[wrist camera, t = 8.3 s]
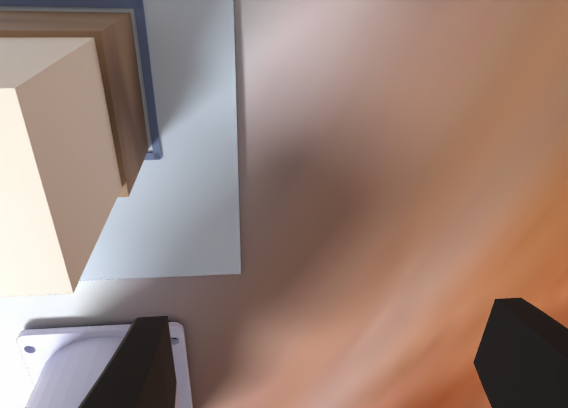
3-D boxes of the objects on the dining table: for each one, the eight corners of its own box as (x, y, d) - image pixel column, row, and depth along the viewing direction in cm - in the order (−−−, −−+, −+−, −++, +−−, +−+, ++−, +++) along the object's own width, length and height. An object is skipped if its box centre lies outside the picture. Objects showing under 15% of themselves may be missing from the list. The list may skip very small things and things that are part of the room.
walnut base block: (148, 148, 18) (128, 196, 14) (16, 150, 17) (-39, 201, 14) (130, 12, 15) (100, 31, 12) (-25, 10, 15) (-104, 28, 11)
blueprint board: (240, 268, 22) (241, 275, 21) (-22, 279, 20) (-28, 286, 20) (227, -234, 13) (226, -240, 12) (-242, -268, 11) (-260, -276, 11)
